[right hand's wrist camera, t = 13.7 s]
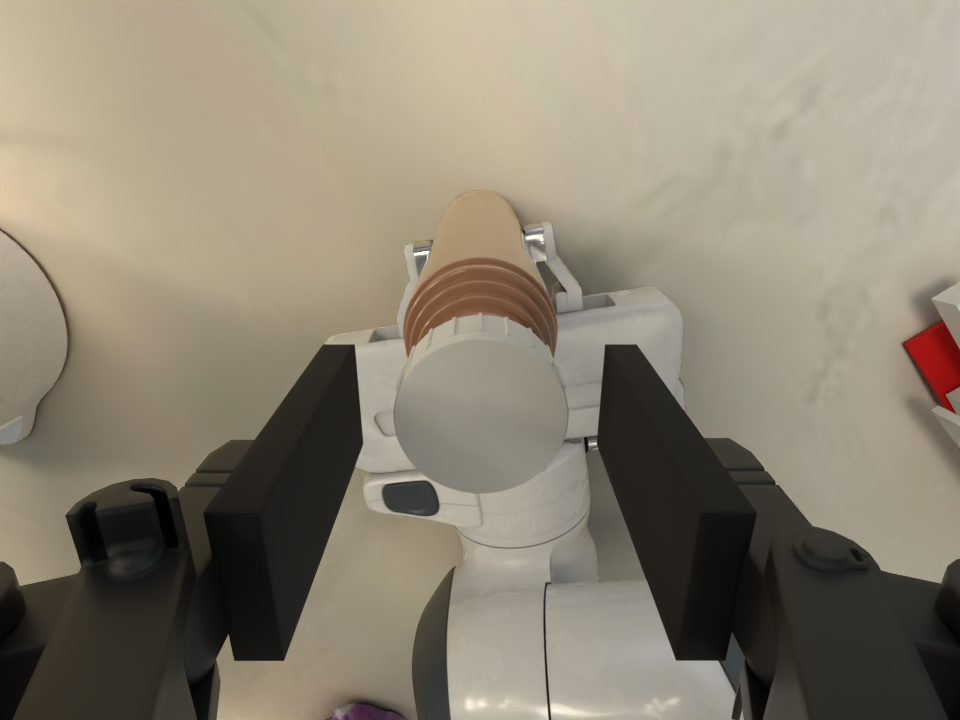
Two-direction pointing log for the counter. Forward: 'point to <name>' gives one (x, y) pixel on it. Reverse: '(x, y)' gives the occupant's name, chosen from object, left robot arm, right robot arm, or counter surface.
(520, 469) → the cap
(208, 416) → the counter surface
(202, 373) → the counter surface
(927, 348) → the toy
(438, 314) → the bottle
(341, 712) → the figurine
